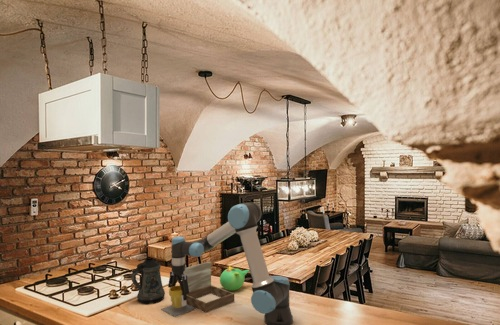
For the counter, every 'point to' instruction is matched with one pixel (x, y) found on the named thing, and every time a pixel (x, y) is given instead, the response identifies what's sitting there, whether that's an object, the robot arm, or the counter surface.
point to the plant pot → (176, 296)
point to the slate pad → (178, 310)
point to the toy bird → (232, 278)
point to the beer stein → (149, 282)
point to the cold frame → (204, 288)
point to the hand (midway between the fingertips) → (178, 303)
